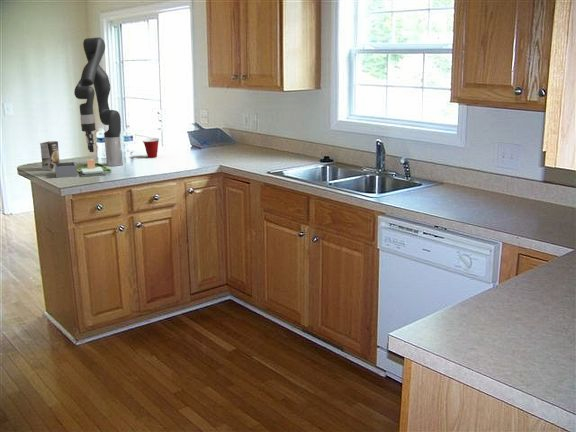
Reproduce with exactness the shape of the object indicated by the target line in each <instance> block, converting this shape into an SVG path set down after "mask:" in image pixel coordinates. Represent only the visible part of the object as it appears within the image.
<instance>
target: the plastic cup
mask: <svg viewBox="0 0 576 432" xmlns="http://www.w3.org/2000/svg"><path fill="white" fill-rule="evenodd" d="M159 140H160V138H158V137H157V138H156V137H155V138H154V137H153V138H146V139H143V140H142V143H143V144H144V148H145V152H146V155H147V158H148V159H156V158H157V157H158V150H159V149H158V148H159Z"/></svg>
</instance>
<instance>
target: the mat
mask: <svg viewBox="0 0 576 432" xmlns="http://www.w3.org/2000/svg"><path fill="white" fill-rule="evenodd" d="M79 174H80V177H81V178H86V177H98V176H106V172H105V170H103V172H101V174H89V175H85V173H84V174H83V173H82V170H79Z"/></svg>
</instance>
